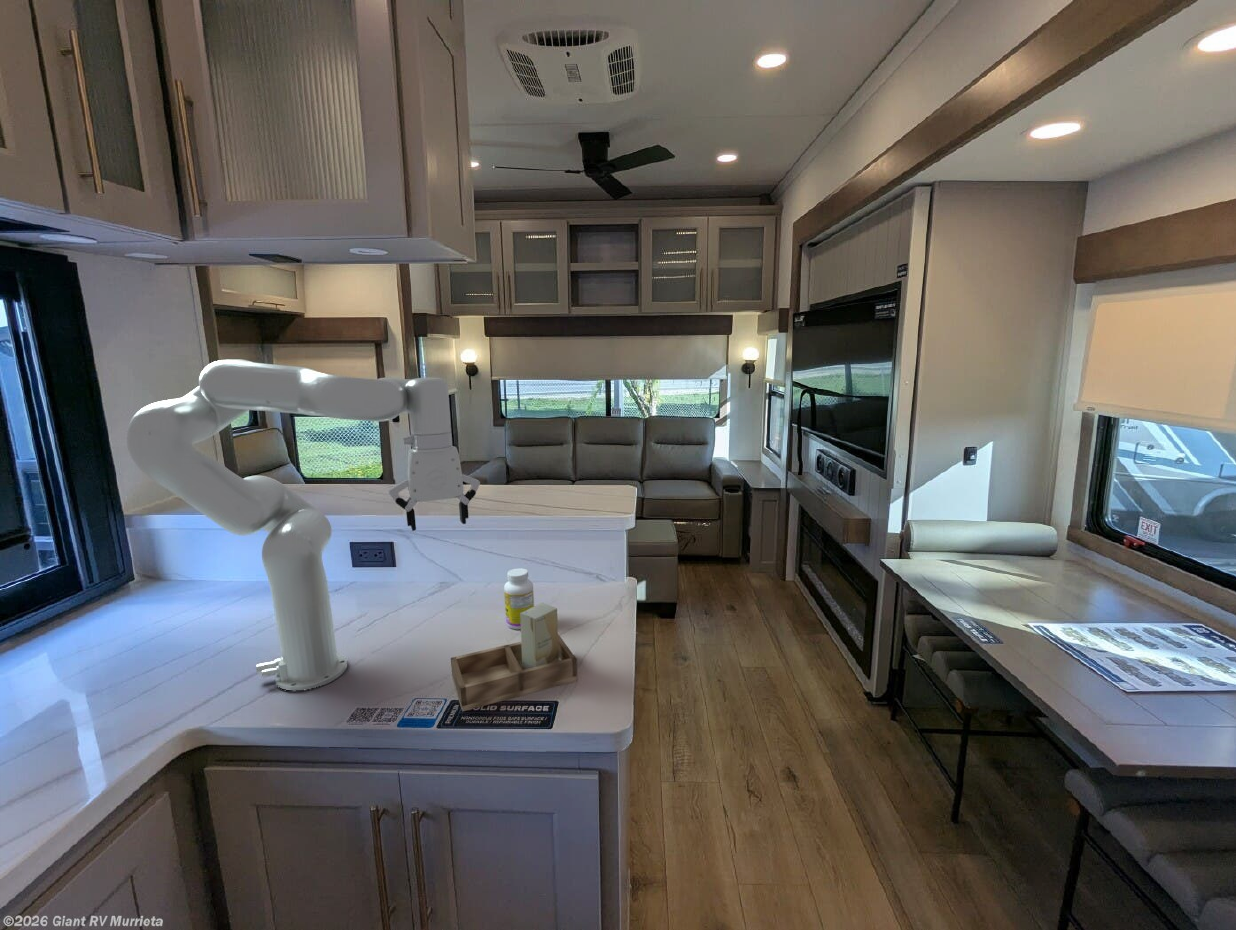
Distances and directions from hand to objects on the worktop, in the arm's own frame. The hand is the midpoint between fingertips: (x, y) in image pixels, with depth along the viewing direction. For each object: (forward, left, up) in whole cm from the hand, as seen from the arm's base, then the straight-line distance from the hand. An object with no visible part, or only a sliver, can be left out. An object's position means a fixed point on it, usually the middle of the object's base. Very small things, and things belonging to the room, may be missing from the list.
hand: (438, 525), depth 114 cm
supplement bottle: (+17, +6, -28) cm, 34 cm away
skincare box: (+15, -16, -27) cm, 35 cm away
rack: (+10, -16, -28) cm, 34 cm away
